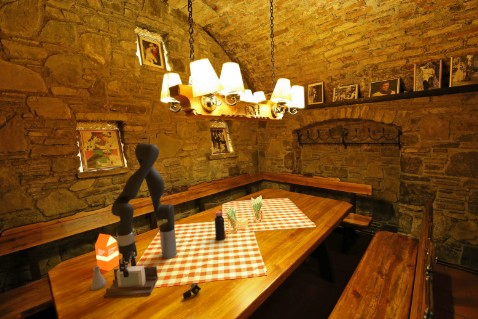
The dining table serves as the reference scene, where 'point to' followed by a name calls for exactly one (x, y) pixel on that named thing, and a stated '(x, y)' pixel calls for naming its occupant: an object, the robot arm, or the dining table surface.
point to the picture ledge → (133, 290)
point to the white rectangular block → (132, 277)
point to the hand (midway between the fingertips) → (130, 271)
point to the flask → (97, 279)
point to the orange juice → (107, 252)
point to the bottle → (219, 226)
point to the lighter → (193, 289)
